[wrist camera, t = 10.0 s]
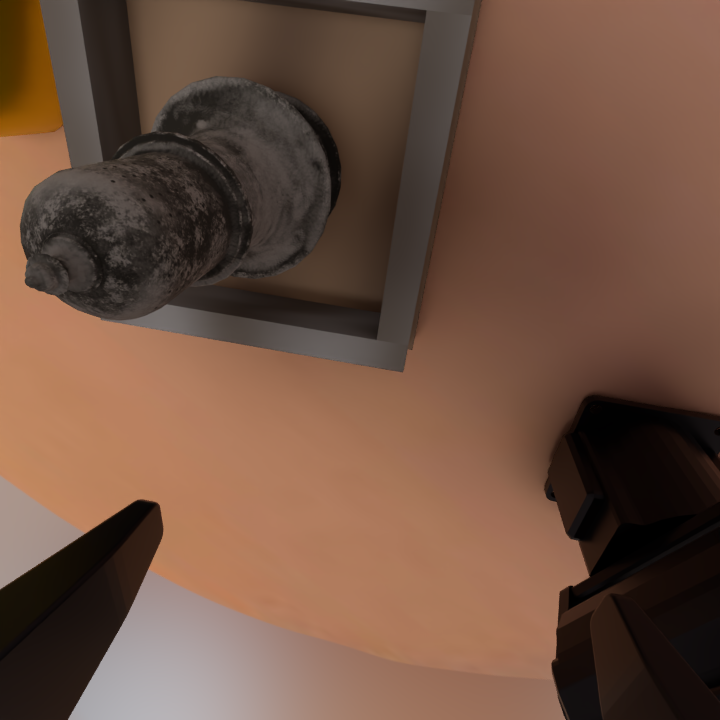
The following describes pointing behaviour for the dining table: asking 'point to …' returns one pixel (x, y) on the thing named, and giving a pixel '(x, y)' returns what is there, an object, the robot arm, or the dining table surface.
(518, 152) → the dining table surface
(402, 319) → the socket
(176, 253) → the dark grey chess piece
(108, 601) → the robot arm
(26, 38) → the element tile
